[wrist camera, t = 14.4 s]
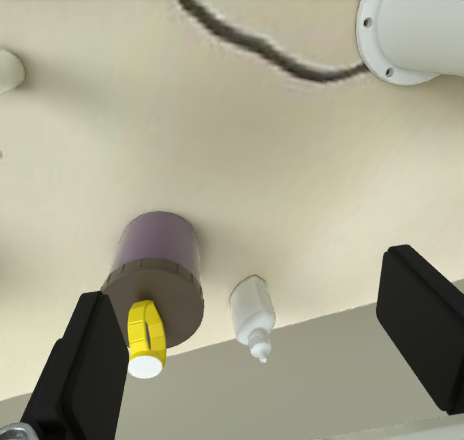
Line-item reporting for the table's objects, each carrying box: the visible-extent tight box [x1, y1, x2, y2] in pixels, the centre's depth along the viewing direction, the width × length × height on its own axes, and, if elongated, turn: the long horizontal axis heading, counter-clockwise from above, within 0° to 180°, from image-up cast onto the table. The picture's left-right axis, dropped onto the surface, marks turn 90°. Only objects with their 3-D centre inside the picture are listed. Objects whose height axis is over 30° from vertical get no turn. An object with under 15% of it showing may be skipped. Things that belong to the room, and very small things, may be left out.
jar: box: [108, 212, 201, 286], centre depth 37 cm, size 10×10×12 cm
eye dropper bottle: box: [230, 276, 276, 363], centre depth 42 cm, size 4×6×12 cm
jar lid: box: [100, 258, 204, 350], centre depth 33 cm, size 10×10×2 cm
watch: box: [128, 300, 166, 378], centre depth 29 cm, size 6×3×6 cm, turn 12°
